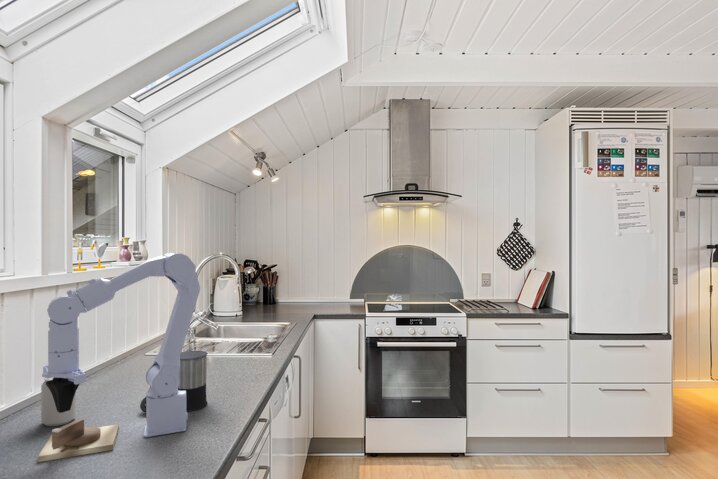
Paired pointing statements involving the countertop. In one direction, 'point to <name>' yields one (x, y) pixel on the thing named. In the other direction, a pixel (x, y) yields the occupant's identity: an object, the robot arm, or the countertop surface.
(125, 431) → the countertop surface
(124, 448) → the countertop surface
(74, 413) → the can
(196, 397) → the milk frother
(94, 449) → the dial plate
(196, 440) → the countertop surface
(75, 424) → the dial
